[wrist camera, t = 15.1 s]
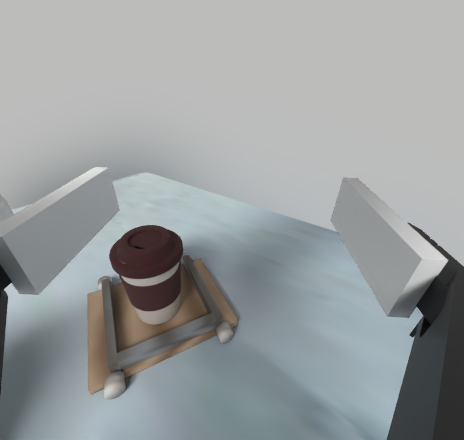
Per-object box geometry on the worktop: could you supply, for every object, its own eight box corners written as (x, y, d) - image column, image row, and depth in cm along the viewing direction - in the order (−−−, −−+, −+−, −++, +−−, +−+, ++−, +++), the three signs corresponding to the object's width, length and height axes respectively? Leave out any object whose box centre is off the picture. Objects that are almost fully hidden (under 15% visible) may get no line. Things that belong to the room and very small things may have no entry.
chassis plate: (197, 258, 53) (196, 245, 51) (243, 335, 38) (245, 319, 36) (89, 291, 44) (83, 276, 42) (91, 411, 29) (81, 396, 26)
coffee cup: (174, 277, 46) (165, 213, 38) (198, 313, 39) (193, 243, 31) (121, 300, 41) (99, 231, 33) (139, 346, 34) (116, 273, 26)
